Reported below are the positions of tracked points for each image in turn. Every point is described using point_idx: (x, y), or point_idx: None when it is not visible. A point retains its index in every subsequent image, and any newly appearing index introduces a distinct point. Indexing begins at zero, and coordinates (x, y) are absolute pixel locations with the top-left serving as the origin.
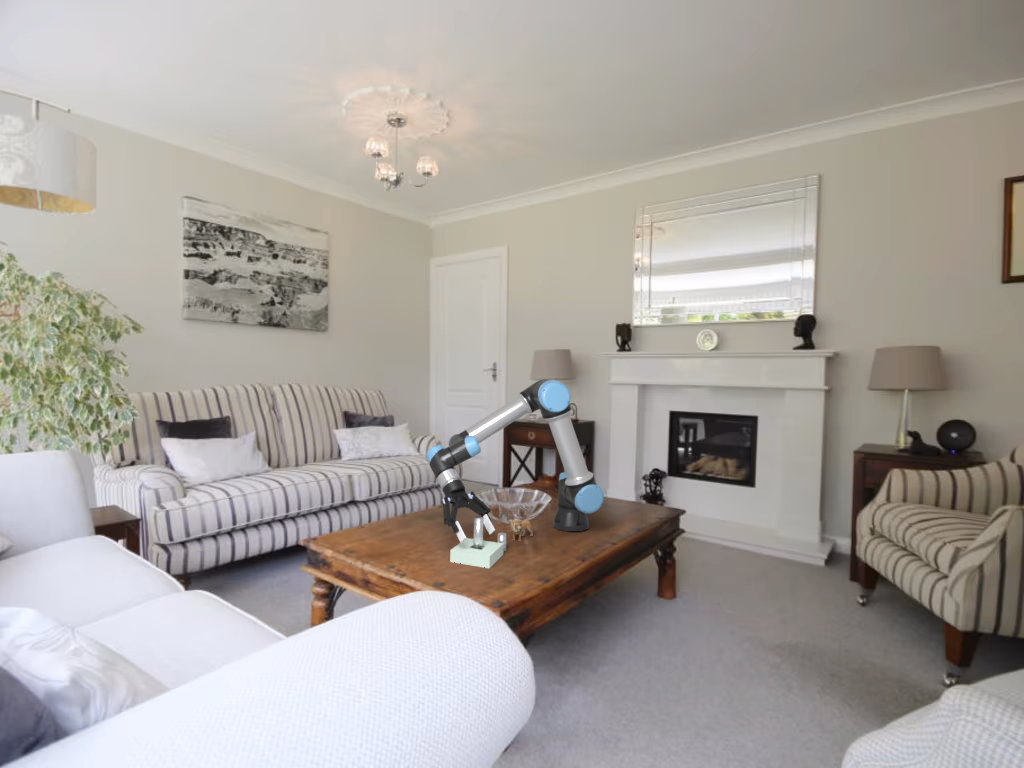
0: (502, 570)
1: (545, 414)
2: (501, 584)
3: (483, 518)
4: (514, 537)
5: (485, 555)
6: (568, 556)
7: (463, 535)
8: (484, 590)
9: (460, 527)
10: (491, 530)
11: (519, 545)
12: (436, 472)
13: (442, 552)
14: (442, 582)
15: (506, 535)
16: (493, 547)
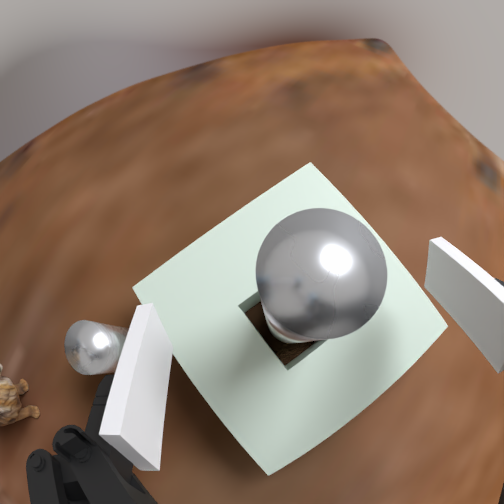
0: (267, 156)
1: None
2: (329, 87)
3: (279, 223)
4: (26, 408)
5: (324, 179)
6: (22, 182)
7: (452, 247)
8: (387, 86)
9: (486, 283)
10: (158, 328)
11: (44, 351)
12: None
13: (392, 452)
14: (479, 176)
15: (75, 325)
16: (219, 258)
